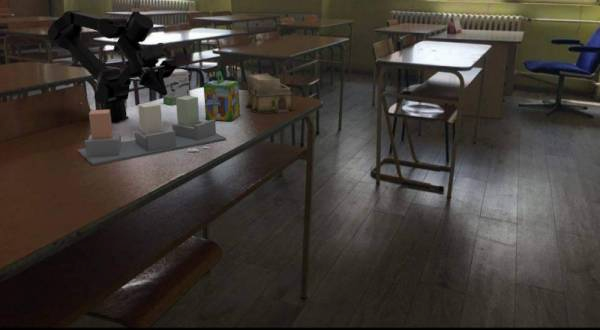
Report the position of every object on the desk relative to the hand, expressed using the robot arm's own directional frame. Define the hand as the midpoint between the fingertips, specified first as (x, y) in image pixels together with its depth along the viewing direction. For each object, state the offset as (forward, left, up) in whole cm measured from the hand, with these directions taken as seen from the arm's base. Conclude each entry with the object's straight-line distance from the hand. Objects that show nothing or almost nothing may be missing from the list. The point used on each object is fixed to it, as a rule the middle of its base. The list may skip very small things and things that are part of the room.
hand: (165, 94), depth 144 cm
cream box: (+2, -13, -11) cm, 17 cm away
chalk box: (+10, +19, -11) cm, 24 cm away
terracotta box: (-6, -23, -11) cm, 26 cm away
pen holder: (+4, +35, -11) cm, 37 cm away
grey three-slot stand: (+2, -13, -11) cm, 17 cm away
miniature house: (+21, +34, -11) cm, 42 cm away
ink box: (-14, +35, -11) cm, 40 cm away
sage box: (+8, -2, -11) cm, 14 cm away
